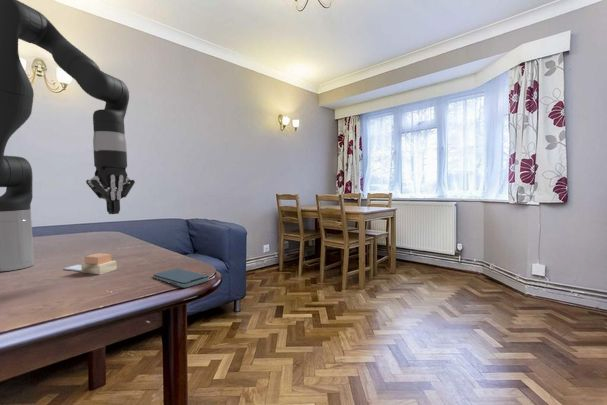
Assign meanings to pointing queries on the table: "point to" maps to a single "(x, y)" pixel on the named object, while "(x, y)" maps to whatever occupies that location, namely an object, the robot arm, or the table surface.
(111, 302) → the table surface
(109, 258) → the tile
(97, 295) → the table surface
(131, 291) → the table surface
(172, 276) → the smartphone
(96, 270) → the deck
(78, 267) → the mat
